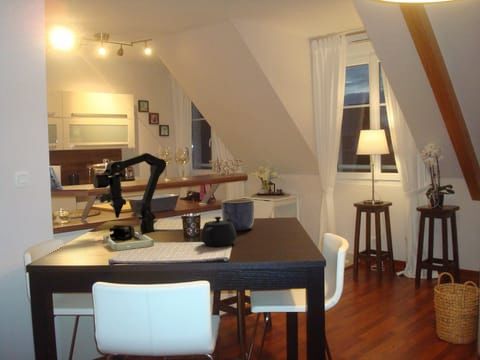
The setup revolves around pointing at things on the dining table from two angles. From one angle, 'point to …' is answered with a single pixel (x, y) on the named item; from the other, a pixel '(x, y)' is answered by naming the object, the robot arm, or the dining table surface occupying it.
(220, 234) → the teapot
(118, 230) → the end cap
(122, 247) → the tray
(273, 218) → the dining table surface
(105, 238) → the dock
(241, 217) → the planter
